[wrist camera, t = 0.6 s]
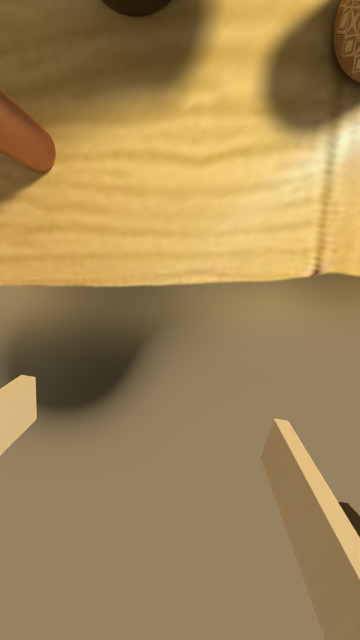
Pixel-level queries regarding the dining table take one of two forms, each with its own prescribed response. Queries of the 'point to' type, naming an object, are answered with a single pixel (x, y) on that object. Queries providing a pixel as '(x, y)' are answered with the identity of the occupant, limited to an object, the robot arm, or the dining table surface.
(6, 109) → the beverage can
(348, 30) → the planter
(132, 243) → the dining table surface
